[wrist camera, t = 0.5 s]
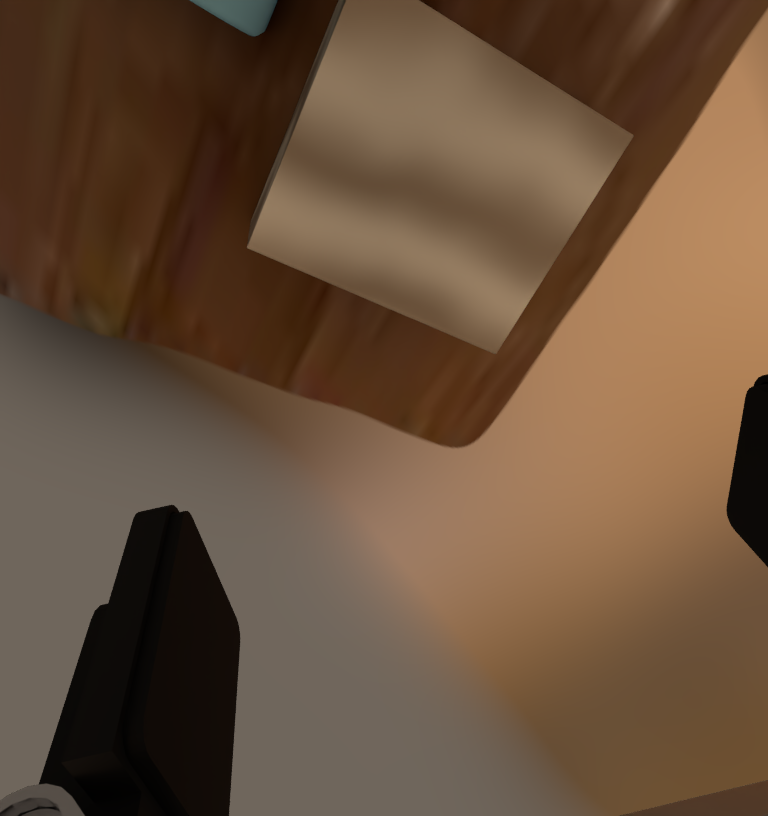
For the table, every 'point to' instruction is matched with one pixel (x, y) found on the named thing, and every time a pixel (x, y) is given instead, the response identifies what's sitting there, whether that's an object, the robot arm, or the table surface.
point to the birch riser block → (430, 171)
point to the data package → (241, 13)
